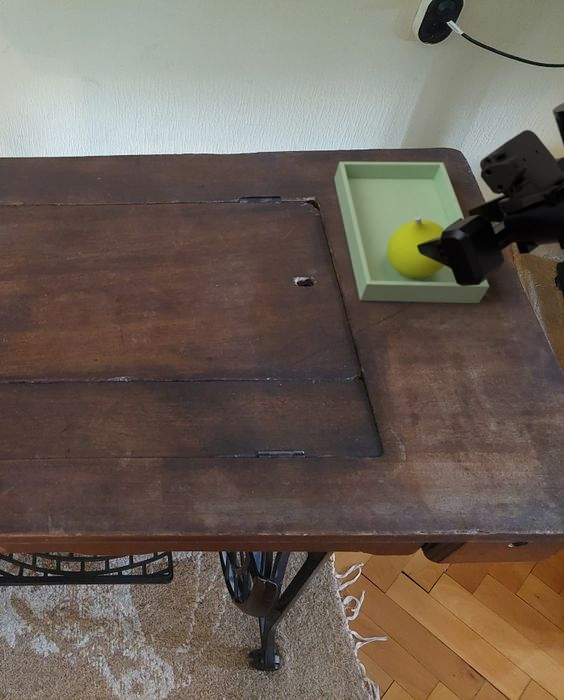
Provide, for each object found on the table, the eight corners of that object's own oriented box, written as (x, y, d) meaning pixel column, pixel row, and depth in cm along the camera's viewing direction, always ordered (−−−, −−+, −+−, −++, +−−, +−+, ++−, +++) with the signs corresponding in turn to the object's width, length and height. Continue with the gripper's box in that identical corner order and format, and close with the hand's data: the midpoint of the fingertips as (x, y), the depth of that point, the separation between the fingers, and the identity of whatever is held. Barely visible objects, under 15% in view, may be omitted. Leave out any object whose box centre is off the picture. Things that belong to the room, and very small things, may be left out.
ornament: (368, 267, 83) (392, 207, 75) (402, 241, 86) (429, 180, 78) (415, 299, 80) (446, 240, 72) (450, 271, 82) (484, 211, 74)
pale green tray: (435, 179, 93) (443, 162, 91) (478, 303, 80) (489, 286, 77) (334, 178, 95) (339, 161, 92) (359, 300, 81) (366, 284, 79)
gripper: (620, 90, 62) (472, 134, 77) (500, 169, 56) (365, 201, 71) (652, 196, 65) (502, 220, 79) (539, 283, 59) (400, 292, 73)
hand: (444, 231), depth 76 cm, fingers open, 9 cm apart
